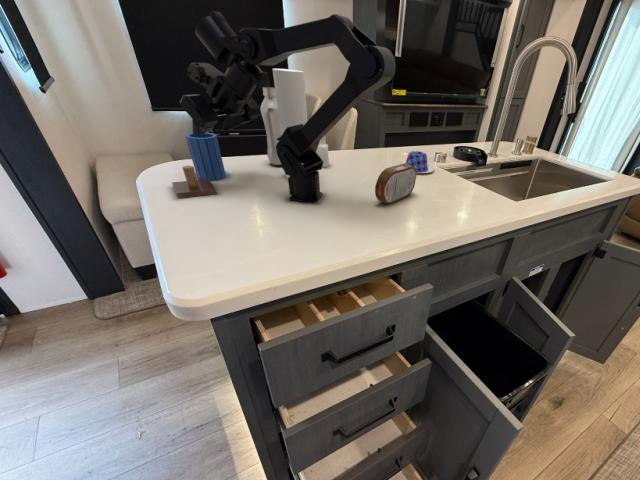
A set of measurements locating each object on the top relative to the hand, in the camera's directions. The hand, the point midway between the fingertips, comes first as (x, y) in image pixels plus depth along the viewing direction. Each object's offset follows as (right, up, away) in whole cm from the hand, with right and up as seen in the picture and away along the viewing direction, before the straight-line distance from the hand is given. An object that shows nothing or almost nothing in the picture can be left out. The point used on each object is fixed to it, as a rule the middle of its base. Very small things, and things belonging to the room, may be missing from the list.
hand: (210, 132), depth 79 cm
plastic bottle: (+9, +1, +21) cm, 23 cm away
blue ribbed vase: (-4, -8, +7) cm, 12 cm away
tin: (+46, -15, +6) cm, 48 cm away
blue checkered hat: (+52, +3, +30) cm, 60 cm away
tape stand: (-3, -15, -1) cm, 15 cm away
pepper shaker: (+22, +2, +24) cm, 32 cm away
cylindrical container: (+18, -6, +14) cm, 23 cm away
